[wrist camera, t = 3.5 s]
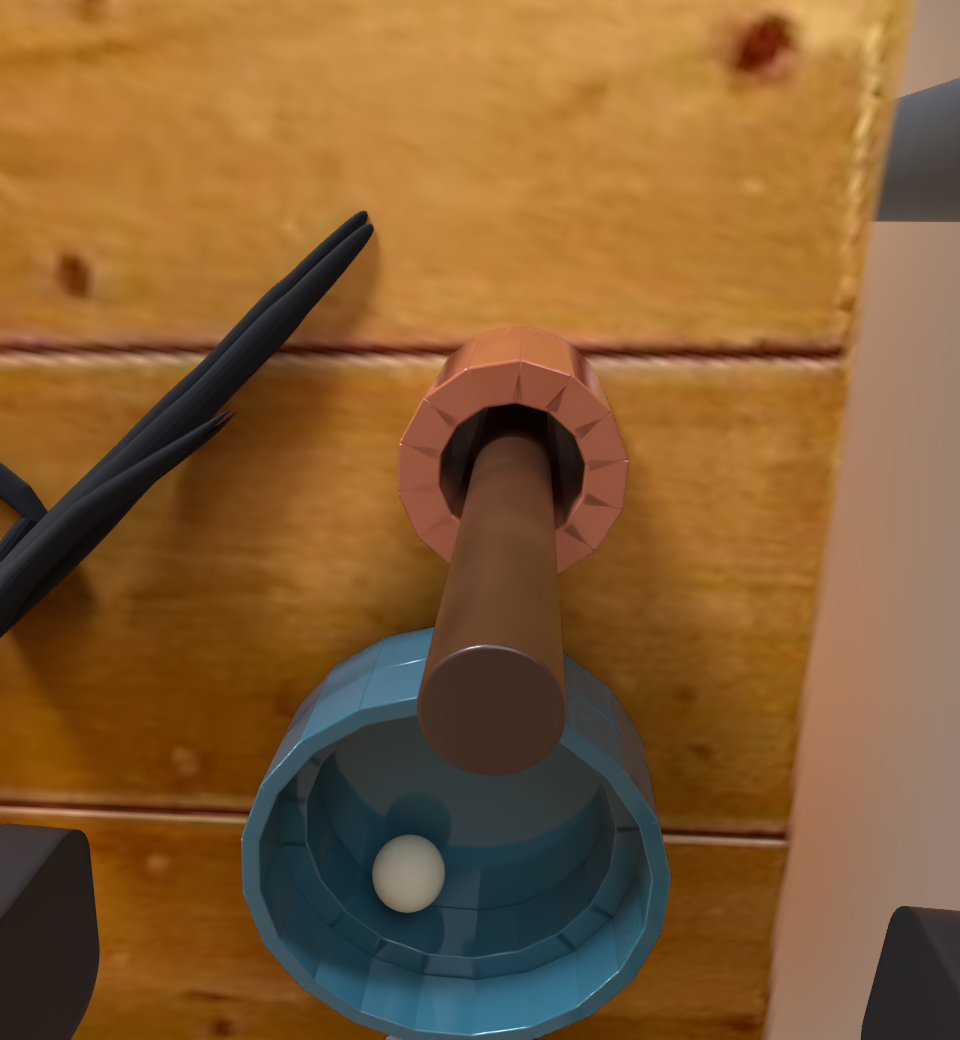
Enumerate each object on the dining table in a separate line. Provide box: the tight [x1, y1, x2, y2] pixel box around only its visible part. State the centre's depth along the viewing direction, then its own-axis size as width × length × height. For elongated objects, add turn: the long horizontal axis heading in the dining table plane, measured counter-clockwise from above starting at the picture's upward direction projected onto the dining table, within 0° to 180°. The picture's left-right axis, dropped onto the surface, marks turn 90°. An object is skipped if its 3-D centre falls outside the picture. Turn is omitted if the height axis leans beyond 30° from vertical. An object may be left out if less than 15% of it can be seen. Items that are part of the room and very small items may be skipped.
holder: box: [397, 327, 629, 574], centre depth 28 cm, size 6×6×8 cm
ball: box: [372, 834, 445, 913], centre depth 36 cm, size 3×3×3 cm
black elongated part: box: [0, 211, 373, 638], centre depth 31 cm, size 8×9×25 cm
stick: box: [417, 404, 567, 777], centre depth 22 cm, size 2×2×20 cm
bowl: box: [241, 627, 671, 1040], centre depth 35 cm, size 15×15×6 cm
